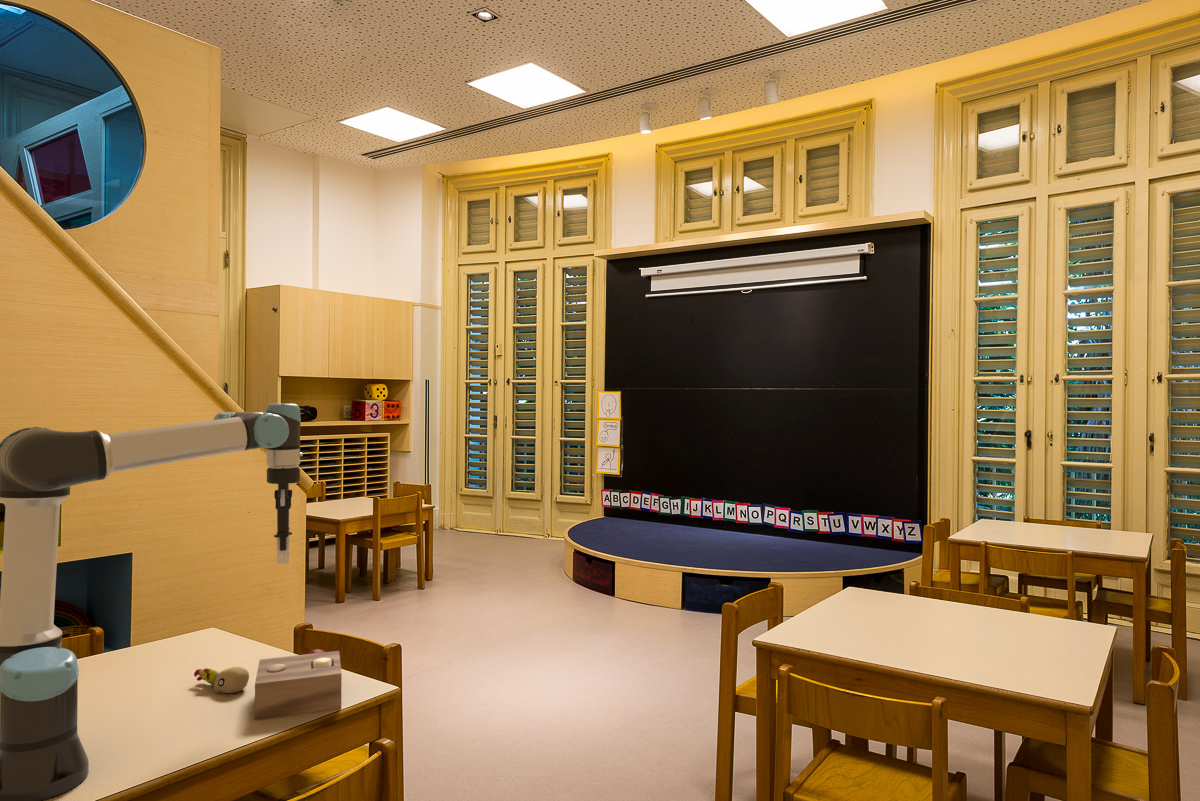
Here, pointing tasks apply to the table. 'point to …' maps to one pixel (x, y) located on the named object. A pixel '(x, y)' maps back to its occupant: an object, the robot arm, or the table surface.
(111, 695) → the table surface
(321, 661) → the dowel
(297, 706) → the socket block
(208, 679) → the toy
